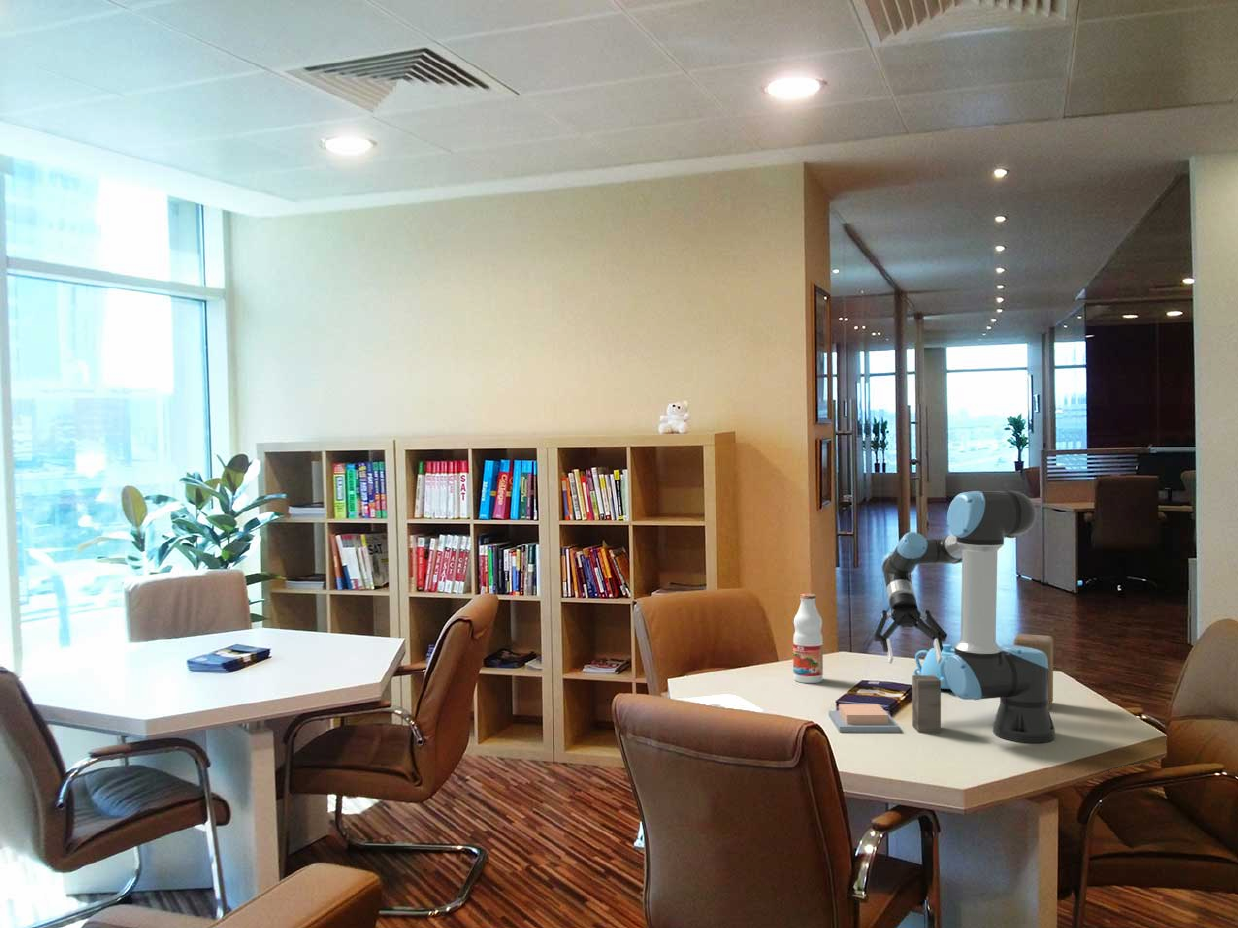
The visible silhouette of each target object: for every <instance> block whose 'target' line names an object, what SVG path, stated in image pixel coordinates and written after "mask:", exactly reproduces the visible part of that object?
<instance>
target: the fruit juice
mask: <svg viewBox="0 0 1238 928" xmlns="http://www.w3.org/2000/svg"><path fill="white" fill-rule="evenodd" d="M799 599H800V605H799V608H798V610H797V613H796V614H795V616H794V618H793V625H794V633H793V637H792V638H793V639H792V641H793V643H792V644H793V645H792V646H793V647H792V648H793V650H792V653H793V661H792V663H793V664H792V666H793V669H792V671H793V676H792V677H793V680H794V681H795V682H798V683H803V684H817V683H818V684H819V683H820V682H822V681H823V677H824V676H823V675H824V670H823V668H824V667H823V664H824V663H823V661H824V660H823V658H824V657H823V656H824V655H823V653H824V652H823V649H824V648H823V647H824V645H823V642H824V641H823V639H824V638H823V634H822V631H821V630H822V626H823V619H822V617H821V615H820V613H819V612H818V608H817V606H816V602H815V601H816V594H815V593H800V596H799Z"/></svg>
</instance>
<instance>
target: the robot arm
mask: <svg viewBox="0 0 1238 928" xmlns="http://www.w3.org/2000/svg"><path fill="white" fill-rule="evenodd" d="M1037 516H1038V515H1037V509H1036V507H1035V504H1034V502H1033V501H1032V500H1031V499H1030V498H1029V497H1028V496H1027V495H1025V494H1024V493H1022V492H1020V491H1016V490H972V491H965V492H960V493H958V494H957V495H956V496H954V498H953V499H952V501H951V502H950V504H949V506H948V510H947V515H946V522H947V523H946V524H947V527H948V531H949V533H950V534H949V535H947V536H945V537H941V538H925V537H924V536H923V535H922V534H921V533H917V532H915V531H910V532H907V533H905V534H904V535H903V536H902V537H901V539H899V541H898V543H897V545H896V547H895V549H894V550H892V551H889V552H887V553H885V554H884V555H883V556H882V557H881V560H880V561H881V571H882V574H883V578H884V583H885V588H886V592H887V596H888V601H889V608H890V612H889V611H888V612H887V610H885V609H883V610H882V612H881V616H880V618H881V619H880V623H879V625H878V627H877V629H876V632H875V634H874V637H873V638H874V639H873V640H874V641H875V642H879V643H880V644H881V647H882V651H883V652H884V653H886V655H887V659H888V664H893V661H894V653H893V649H892V646H891V645H892V644H891V641H890V639H891V638H890V637H891V635H892V634H893V633H894V632H895V631H896V630H897V629H898V628H899V626H900V627H901V628H906V627H908V628H913V627H914V628H915V629H917V630H920V632H922V633H924V634H925V635H926V636H927V637H929V638H930V639H931V640H932V641H933V645H932V646H933V648H934V649H935V654H936V658H937V662H938V663H941V661H942V654H941V652H942V650H943V644H944V643H943V642H945V641H946V639H947V637H948V633H947V632H946V631H945V630H944V629H943V628H942V627H941V626H940V624H939V623H938V622H937V621H936V620H935V619H934V617H933V616H932V614H931V611H930V609H929V610H928V609H926V610H925V611H923V612H920V611H919V609H918V603H917V600H916V599H917V598H916V597H915V592H914V588H913V584H912V583H913V581H912V577H911V574H912V572H913V571H914V569H915V568H916V567H917V566H919V565H920V566H921V565H941V564H951V565H952V564H953V565H954V564H960V563H961V607H960V609H961V610H960V613H961V614H960V618H961V619H960V639H959V641H957V643H954V648H953V649H954V654H952V655H951V656H949V657H947V660H946V661H945V666H944V670H945V676H946V680H947V683H948V685H949V686H950V688H951V689H950V690H951V691H952V693H953V694H954V695H955V696H956V697H958V698H959V699H960V700H964V701H965V700H966V701H967V700H969V701H970V700H971V701H972V700H974V701H979V700H987V699H999V707H998V708H997V711H996V715H995V718H994V721H993V723H992V732H993V734H994V735H996V736H997V737H999V738H1001V739H1005V740H1009V741H1014V742H1021V743H1028V744H1029V743H1031V744H1032V743H1034V744H1035V743H1036V744H1037V743H1047V742H1052V741H1053V740H1055V738H1056V736H1055V735H1056V733H1055V732H1056V729H1055V726H1054V723H1053V720H1052V717H1051V713H1050V711H1049V710H1050V709H1049V710H1048V662H1047V656H1046V654H1045V653H1044V652H1042V651H1040V650H1037V649H1033V648H1029V647H1024V646H1017V645H1014V644H1001V645H999V644H998V643H997V637H996V636H997V600H998V599H997V598H998V597H997V596H998V595H997V592H998V591H997V590H998V589H997V588H998V585H997V584H998V551H999V550H1000V549H1001V548H1002V547H1003V546H1004V545H1005V539H1006V538H1007V539H1015V538H1017V537H1020V536H1022V535H1025V534H1026V533H1028V532H1029V531H1030V530H1031V529H1032V528H1033V527H1034V526H1035V523H1036V521H1037ZM889 618H891V620H892V621H893V622H892V623H891V625H890V626H889V627H888V628H887V629H886V631H885V632H884V633H883V635H882V632H883V629H884V627H885V624H886V622H887V621H888V620H889ZM924 621H925V622H926V623H925V622H924Z"/></svg>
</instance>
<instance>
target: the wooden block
mask: <svg viewBox="0 0 1238 928" xmlns="http://www.w3.org/2000/svg"><path fill="white" fill-rule="evenodd" d="M1013 645H1017V646H1024V647H1029V648H1033V649H1037V650H1040V651H1042V652H1044V653H1045V654H1046V656H1047V662H1048V710H1050V709H1051V707H1052V704H1053V701H1054V639H1053V637H1052V636H1051V635H1041V634H1029V633H1018V634H1016V636H1015V638H1014V640H1013Z"/></svg>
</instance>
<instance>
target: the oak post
mask: <svg viewBox="0 0 1238 928" xmlns="http://www.w3.org/2000/svg"><path fill="white" fill-rule="evenodd" d="M911 676H912V677H911V682H912V683H911V684H912V685H911V686H912V687H911V689H912V691H911V693H912V695H911V699H912V700H911V703H912V705H911V715H912V717H911V718H912V719H911V720H912V722H911V725H912V728H913V729H914V730H915V731H916V732H917V733H919V734H920V733H925V734H927V733H929V734H930V733H933V734H934V733H935V734H940V733H942V688H941V680H940V679H939V678H937V677H936V676H935V675H914V674H913V675H911Z"/></svg>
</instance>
